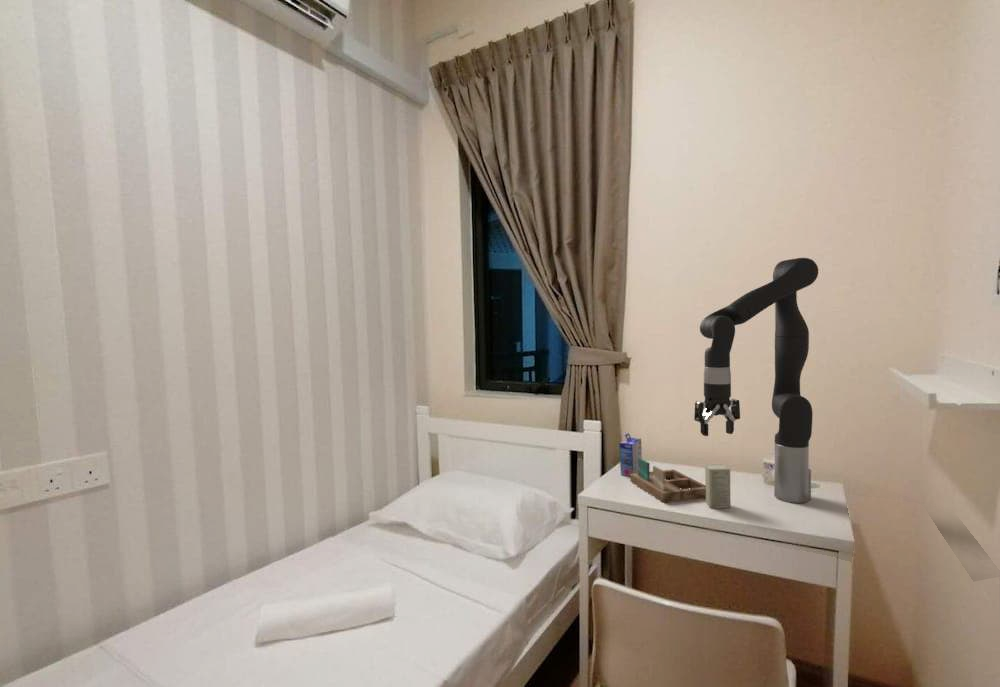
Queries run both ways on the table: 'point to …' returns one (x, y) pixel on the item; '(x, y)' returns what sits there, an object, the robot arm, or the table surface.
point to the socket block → (667, 483)
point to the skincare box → (717, 486)
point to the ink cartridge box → (630, 455)
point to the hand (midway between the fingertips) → (717, 434)
